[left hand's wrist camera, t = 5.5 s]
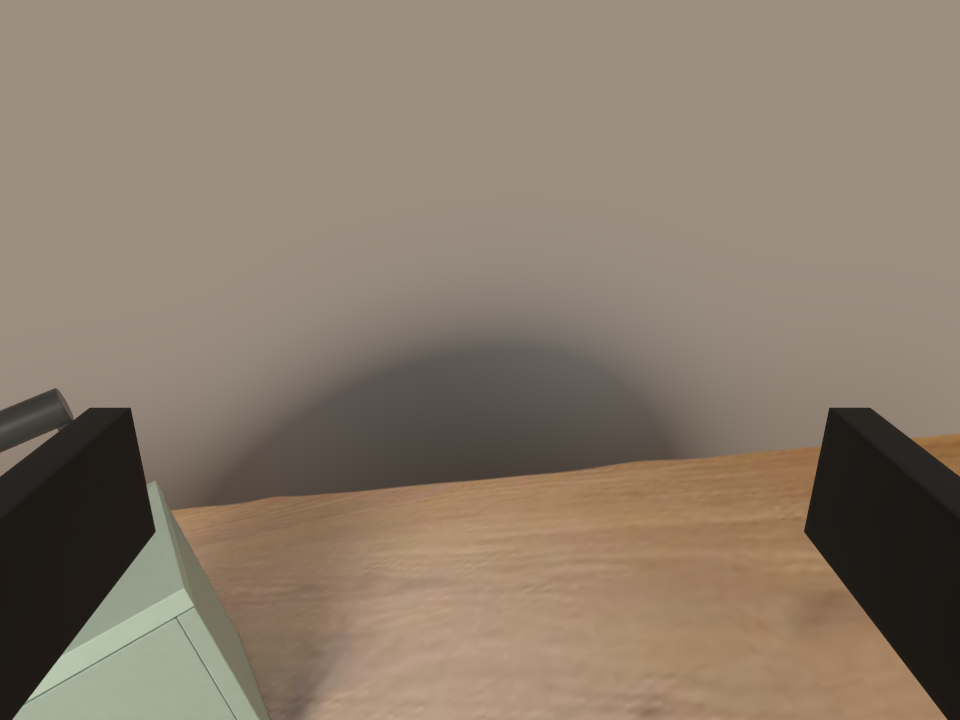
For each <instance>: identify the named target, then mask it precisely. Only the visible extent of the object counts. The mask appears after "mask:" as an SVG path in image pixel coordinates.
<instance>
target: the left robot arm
mask: <svg viewBox="0 0 960 720" xmlns="http://www.w3.org/2000/svg"><path fill="white" fill-rule="evenodd" d="M155 532H156V530H155V525H154V520H153V515H152V510H151V505H150V500H149V495H148V491H147V486H146V481H145V476H144V471H143V466H142V461H141V456H140V452H139V447H138V442H137V437H136V432H135V427H134V422H133V417H132V413H131V408H89V409H88V410H86V411H85V412H84V413H82V414H81V415H80V416H79V417H77V418H76V419H75V420H73V421H72V422H71V423H69V424H68V425H67V426H66V427H64V428H63V429H62V430H60V431H59V432H58V433H56V434H55V435H54V436H53V437H51V438H50V439H49V440H47V441H46V442H45V443H43V444H42V445H41V446H40V447H38V448H37V449H36V450H34V451H33V452H32V453H31V454H29V455H28V456H27V457H25V458H24V459H23V460H21V461H20V462H19V463H18V464H16V465H15V466H14V467H12V468H11V469H10V470H9V471H7V472H6V473H5V474H3V475H2V476H1V477H0V720H13V718H14V717H15V716H16V714H17V713H18V712H19V710H20V709H21V708H22V706H23V705H24V704H25V702H26V701H27V700H28V699H29V697H30V696H31V695H32V693H33V692H34V691H35V689H36V688H37V687H38V685H39V684H40V683H41V682H42V680H43V679H44V678H45V676H46V675H47V674H48V672H49V671H50V670H51V668H52V667H53V666H54V664H55V663H56V662H57V661H58V659H59V658H60V657H61V655H62V654H63V653H64V651H65V650H66V649H67V647H68V646H69V645H70V644H71V642H72V641H73V640H74V638H75V637H76V636H77V634H78V633H79V632H80V630H81V629H82V628H83V627H84V625H85V624H86V623H87V621H88V620H89V619H90V617H91V616H92V615H93V613H94V612H95V611H96V609H97V608H98V607H99V606H100V604H101V603H102V602H103V600H104V599H105V598H106V596H107V595H108V594H109V592H110V591H111V590H112V589H113V587H114V586H115V585H116V583H117V582H118V581H119V579H120V578H121V577H122V575H123V574H124V573H125V571H126V570H127V569H128V568H129V566H130V565H131V564H132V562H133V561H134V560H135V558H136V557H137V556H138V554H139V553H140V552H141V551H142V549H143V548H144V547H145V545H146V544H147V543H148V541H149V540H150V539H151V537H152V536H153V535H154V534H155ZM804 532H805V534H806V535H807V536H808V537H809V539H810V540H811V541H812V543H813V544H814V545H815V547H816V548H817V549H818V551H819V552H820V553H821V554H822V556H823V557H824V558H825V560H826V561H827V562H828V564H829V565H830V566H831V568H832V569H833V570H834V572H835V573H836V574H837V575H838V577H839V578H840V579H841V581H842V582H843V583H844V585H845V586H846V587H847V589H848V590H849V591H850V592H851V594H852V595H853V596H854V598H855V599H856V600H857V602H858V603H859V604H860V606H861V607H862V608H863V609H864V611H865V612H866V613H867V615H868V616H869V617H870V619H871V620H872V621H873V623H874V624H875V625H876V627H877V628H878V629H879V630H880V632H881V633H882V634H883V636H884V637H885V638H886V640H887V641H888V642H889V644H890V645H891V646H892V647H893V649H894V650H895V651H896V653H897V654H898V655H899V657H900V658H901V659H902V661H903V662H904V663H905V665H906V666H907V667H908V668H909V670H910V671H911V672H912V674H913V675H914V676H915V678H916V679H917V680H918V682H919V683H920V684H921V685H922V687H923V688H924V689H925V691H926V692H927V693H928V695H929V696H930V697H931V699H932V700H933V701H934V702H935V704H936V705H937V706H938V708H939V709H940V710H941V712H942V713H943V714H944V716H945V717H946V718H947V720H960V477H959V476H958V475H957V474H955V473H954V472H953V471H952V470H950V469H949V468H948V467H946V466H945V465H944V464H942V463H941V462H940V461H939V460H937V459H936V458H935V457H933V456H932V455H931V454H929V453H928V452H927V451H926V450H924V449H923V448H922V447H920V446H919V445H918V444H917V443H915V442H914V441H913V440H911V439H910V438H909V437H907V436H906V435H905V434H904V433H902V432H901V431H900V430H898V429H897V428H896V427H894V426H893V425H892V424H891V423H889V422H888V421H887V420H885V419H884V418H883V417H881V416H880V415H879V414H878V413H876V412H875V411H874V410H872V409H871V408H829V413H828V417H827V422H826V427H825V432H824V437H823V442H822V447H821V452H820V456H819V461H818V466H817V471H816V476H815V481H814V486H813V491H812V495H811V500H810V505H809V510H808V515H807V520H806V525H805V530H804Z"/></svg>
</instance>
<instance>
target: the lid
mask: <svg viewBox="0 0 960 720" xmlns="http://www.w3.org/2000/svg"><path fill="white" fill-rule="evenodd" d="M73 420H74V418H73V415H72V412H71V410H70V408H69V406H68V404H67V402H66V401H65V399H64V397H63V396H62V394H61V393H60V391H59V390H58V389H56V388H55V389H52V390H50V391H47V392H45V393H42V394H40V395H37V396H35V397H33V398H30V399H28V400H25V401H23V402H20V403H18V404H15V405H13V406H10V407H8V408H5V409H3V410H1V411H0V453H1V452H3V451H5V450H7V449H10V448H12V447H14V446H17V445H19V444H21V443H24V442H26V441H28V440H31V439H33V438H35V437H38V436H40V435H42V434H45V433H47V432H49V431H52V430H54V429H56V428H57V429H58V431H60V430H62V429H63V428H64V427H66V426H67V425H68V424H69V423H71V422H72V421H73ZM146 486H147V491H148V495H149V500H150V505H151V510H152V515H153V520H154V525H155V530H156V532H155V534H154V535H153V536H152V537H151V539H150V540H149V541H148V543H147V544H146V545H145V547H144V548H143V549H142V551H141V552H140V553H139V554H138V556H137V557H136V558H135V560H134V561H133V562H132V564H131V565H130V566H129V568H128V569H127V570H126V571H125V573H124V574H123V575H122V577H121V578H120V579H119V581H118V582H117V583H116V585H115V586H114V587H113V589H112V590H111V591H110V592H109V594H108V595H107V596H106V598H105V599H104V600H103V602H102V603H101V604H100V606H99V607H98V608H97V609H96V611H95V612H94V613H93V615H92V616H91V617H90V619H89V620H88V621H87V623H86V624H85V625H84V627H83V628H82V629H81V630H80V632H79V633H78V634H77V636H76V637H75V638H74V640H73V641H72V642H71V644H70V645H69V646H68V647H67V649H66V650H65V651H64V653H63V654H62V655H61V657H60V658H59V659H58V661H57V662H56V663H55V664H54V666H53V667H52V668H51V670H50V671H49V672H48V674H47V675H46V676H45V678H44V679H43V680H42V682H41V683H40V684H39V685H38V687H37V688H36V689H35V691H34V692H33V693H32V695H31V696H30V697H29V699H28V700H27V701H29V700H31V699H33V698H34V697H36V696H38V695H40V694H41V693H43V692H45V691H47V690H48V689H50V688H52V687H54V686H55V685H57V684H59V683H61V682H62V681H64V680H66V679H68V678H69V677H71V676H73V675H75V674H76V673H78V672H80V671H82V670H83V669H85V668H87V667H89V666H90V665H92V664H94V663H96V662H97V661H99V660H101V659H103V658H104V657H106V656H108V655H109V654H111V653H113V652H115V651H116V650H118V649H120V648H122V647H123V646H125V645H127V644H129V643H130V642H132V641H134V640H136V639H137V638H139V637H141V636H143V635H144V634H146V633H148V632H150V631H151V630H153V629H155V628H157V627H158V626H160V625H162V624H164V623H165V622H167V621H169V620H171V619H172V618H174V617H176V616H178V615H179V614H181V613H183V612H185V611H186V610H188V609H190V608H192V607H193V606H194V601H193V598H192V594H191V591H190V587H189V584H188V580H187V577H186V573H185V570H184V566H183V563H182V559H181V556H180V552H179V549H178V545H177V542H176V538H175V535H174V531H173V528H172V524H171V521H170V517H169V514H168V510H167V507H166V503H165V500H164V496H163V493H162V491H161V490H160V488H159V486H158V484H157V482H156V481H153V482H151V483H149V484H147V485H146ZM27 701H26V702H27ZM26 702H25V703H26Z"/></svg>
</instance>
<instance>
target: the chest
mask: <svg viewBox="0 0 960 720" xmlns="http://www.w3.org/2000/svg"><path fill="white" fill-rule="evenodd" d="M165 503H166V502H165ZM166 507H167V510H168V514H169V517H170V521H171V524H172V528H173V531H174V535H175V538H176V542H177V545H178V549H179V552H180V556H181V559H182V563H183V566H184V570H185V573H186V577H187V580H188V584H189V587H190V591H191V594H192V598H193V601H194V606H193V607H192V608H190V609H188V610H186V611H185V612H183V613H181V614H179V615H178V616H176V617H174V618H172V619H171V620H169V621H167V622H165V623H164V624H162V625H160V626H158V627H157V628H155V629H153V630H151V631H150V632H148V633H146V634H144V635H143V636H141V637H139V638H137V639H136V640H134V641H132V642H130V643H129V644H127V645H125V646H123V647H122V648H120V649H118V650H116V651H115V652H113V653H111V654H109V655H108V656H106V657H104V658H103V659H101V660H99V661H97V662H96V663H94V664H92V665H90V666H89V667H87V668H85V669H83V670H82V671H80V672H78V673H76V674H75V675H73V676H71V677H69V678H68V679H66V680H64V681H62V682H61V683H59V684H57V685H55V686H54V687H52V688H50V689H48V690H47V691H45V692H43V693H41V694H40V695H38V696H36V697H34V698H33V699H31V700H29V701H27V702H26V703H25V704H24V705H23V706H22V708H21V709H20V710H19V712H18V713H17V714H16V716H15V717H14V718H13V720H270V718H269V715H268V712H267V710H266V707H265V704H264V702H263V699H262V696H261V694H260V691H259V688H258V685H257V683H256V680H255V677H254V675H253V672H252V669H251V667H250V664H249V661H248V659H247V656H246V653H245V651H244V648H243V645H242V643H241V640H240V637H239V634H238V632H237V630H236V628H235V626H234V624H233V622H232V621H231V619H230V617H229V615H228V613H227V612H226V610H225V608H224V606H223V604H222V603H221V601H220V599H219V597H218V595H217V594H216V592H215V590H214V588H213V586H212V585H211V583H210V581H209V579H208V577H207V575H206V574H205V572H204V570H203V568H202V566H201V565H200V563H199V561H198V559H197V557H196V556H195V554H194V552H193V550H192V548H191V547H190V545H189V543H188V541H187V539H186V538H185V536H184V534H183V532H182V530H181V529H180V527H179V525H178V523H177V521H176V520H175V518H174V516H173V514H172V512H171V510H170V509H169V507H168V505H167V503H166Z"/></svg>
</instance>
